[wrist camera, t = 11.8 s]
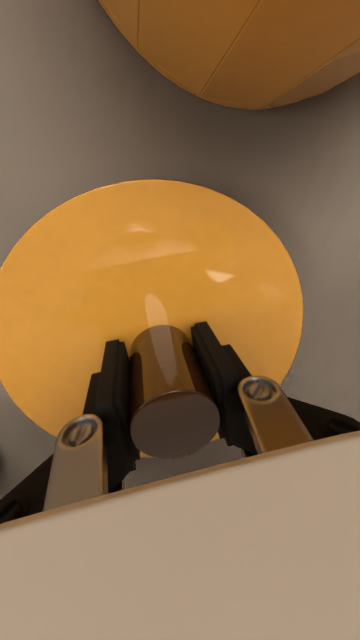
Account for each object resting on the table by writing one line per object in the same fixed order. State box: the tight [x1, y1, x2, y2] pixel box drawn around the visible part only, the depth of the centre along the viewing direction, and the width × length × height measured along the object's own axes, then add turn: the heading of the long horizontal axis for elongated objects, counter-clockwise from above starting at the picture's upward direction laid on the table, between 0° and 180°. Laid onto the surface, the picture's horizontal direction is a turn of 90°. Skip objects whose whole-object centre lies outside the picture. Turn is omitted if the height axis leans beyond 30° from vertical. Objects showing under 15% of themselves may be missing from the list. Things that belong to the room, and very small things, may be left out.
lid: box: [0, 179, 303, 459], centre depth 11 cm, size 15×15×6 cm
